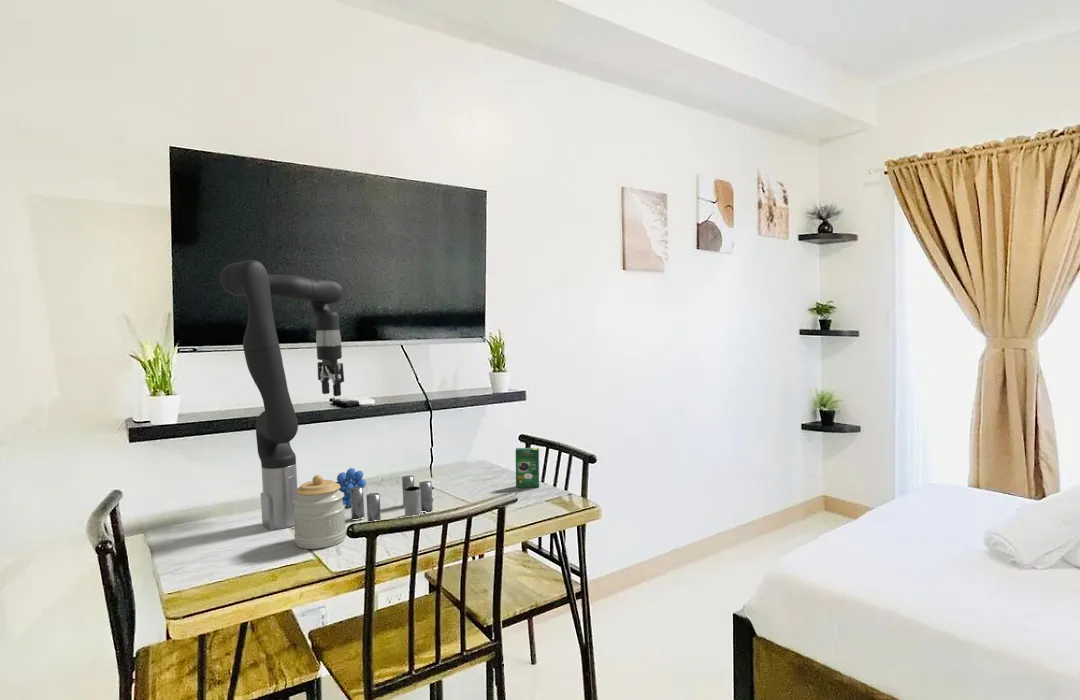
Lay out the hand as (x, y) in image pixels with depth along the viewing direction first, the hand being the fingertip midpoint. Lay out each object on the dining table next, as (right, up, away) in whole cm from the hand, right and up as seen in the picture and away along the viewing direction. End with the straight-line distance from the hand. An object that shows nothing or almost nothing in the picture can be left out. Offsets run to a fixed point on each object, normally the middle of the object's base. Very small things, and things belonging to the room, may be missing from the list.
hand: (331, 394), depth 207 cm
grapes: (+7, -35, -6) cm, 36 cm away
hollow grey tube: (+31, -35, -26) cm, 54 cm away
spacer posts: (+23, -34, -17) cm, 45 cm away
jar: (+9, -36, -37) cm, 52 cm away
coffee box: (+63, -32, +10) cm, 71 cm away
